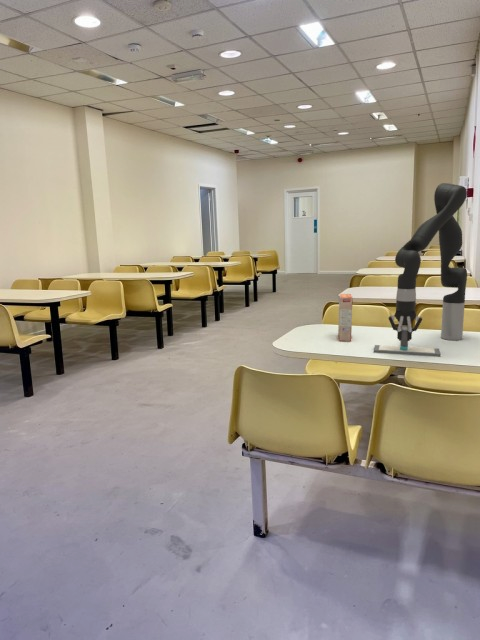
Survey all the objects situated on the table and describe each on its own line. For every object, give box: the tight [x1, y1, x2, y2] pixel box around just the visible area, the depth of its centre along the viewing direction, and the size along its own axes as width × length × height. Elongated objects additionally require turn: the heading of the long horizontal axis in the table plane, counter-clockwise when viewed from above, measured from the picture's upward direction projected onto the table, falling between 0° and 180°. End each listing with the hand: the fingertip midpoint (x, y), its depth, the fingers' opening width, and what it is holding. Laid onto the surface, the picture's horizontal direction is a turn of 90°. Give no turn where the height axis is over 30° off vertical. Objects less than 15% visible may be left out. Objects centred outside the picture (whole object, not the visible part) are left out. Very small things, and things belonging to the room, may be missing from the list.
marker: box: [399, 324, 409, 350], centre depth 194 cm, size 3×3×10 cm
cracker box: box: [337, 293, 354, 342], centre depth 223 cm, size 14×6×21 cm, turn 170°
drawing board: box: [373, 344, 441, 358], centre depth 197 cm, size 10×26×1 cm, turn 70°
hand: (404, 340), depth 195 cm, fingers closed on marker, 3 cm apart
